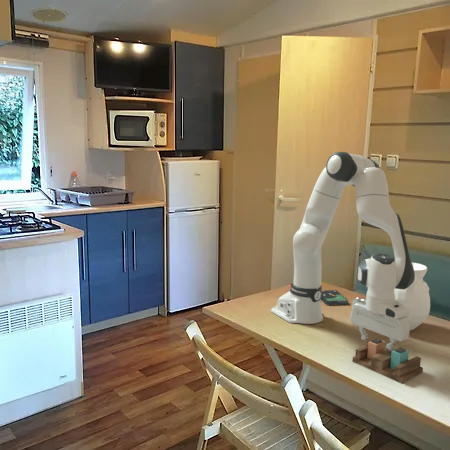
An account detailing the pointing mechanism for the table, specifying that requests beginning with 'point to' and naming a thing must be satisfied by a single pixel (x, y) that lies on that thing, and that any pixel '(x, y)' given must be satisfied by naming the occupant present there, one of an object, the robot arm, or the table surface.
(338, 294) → the disk drive
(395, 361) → the teal box with panel
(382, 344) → the orange rectangular block
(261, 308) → the table surface
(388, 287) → the robot arm
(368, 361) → the brown slotted tray
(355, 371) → the table surface
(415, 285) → the pitcher
